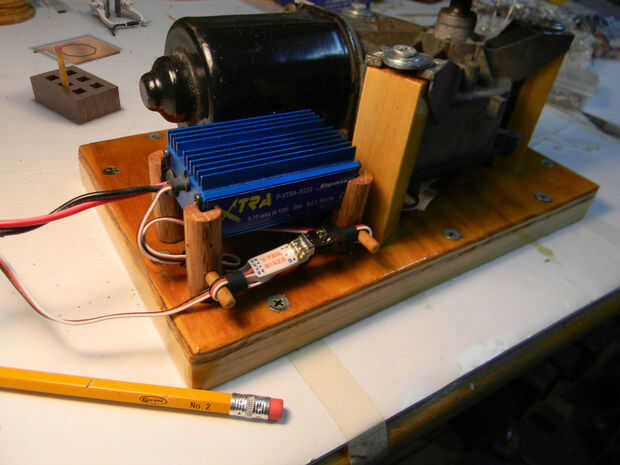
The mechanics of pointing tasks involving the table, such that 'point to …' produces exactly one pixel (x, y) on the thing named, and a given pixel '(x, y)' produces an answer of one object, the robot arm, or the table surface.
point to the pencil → (61, 65)
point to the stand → (76, 94)
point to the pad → (82, 50)
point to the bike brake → (104, 9)
